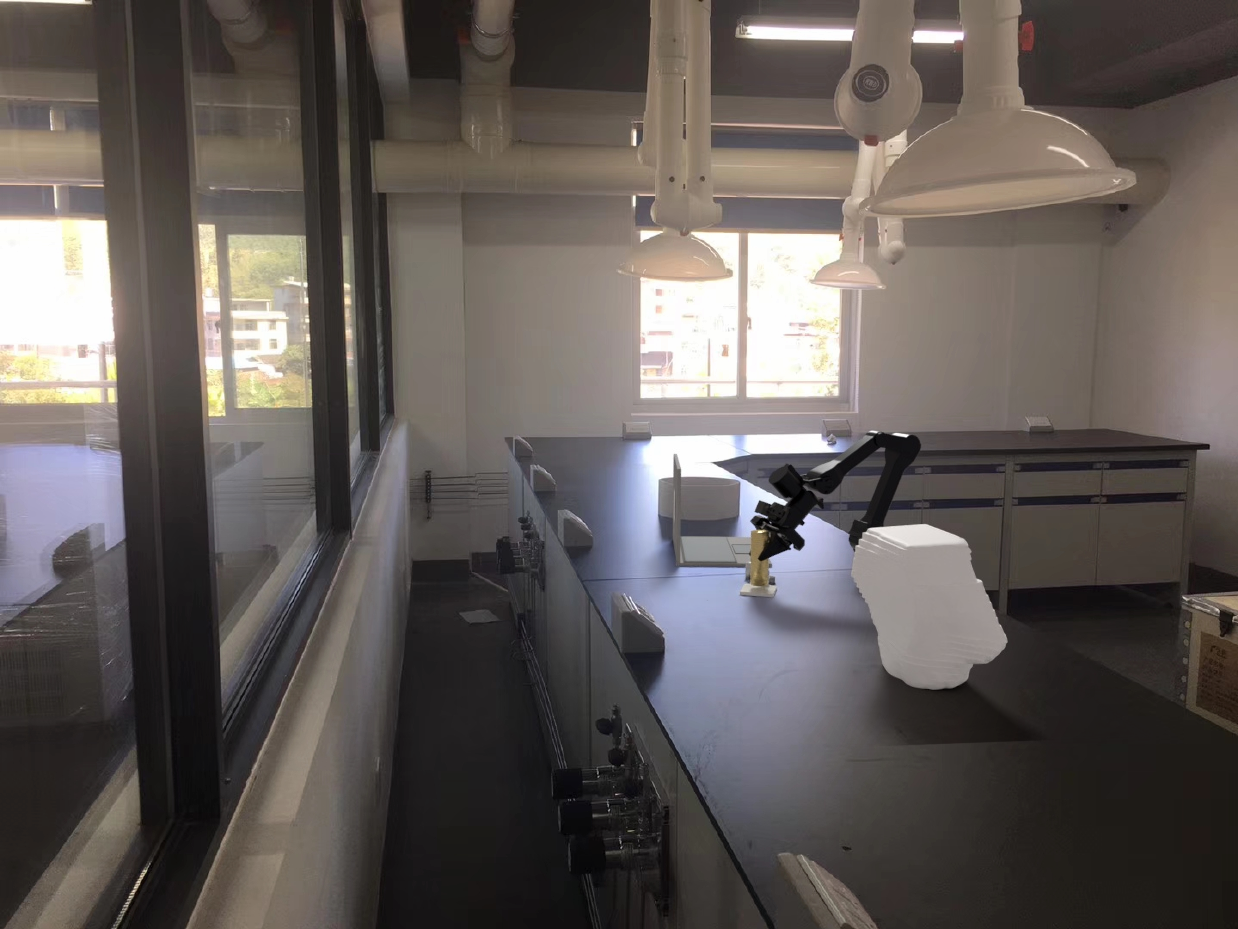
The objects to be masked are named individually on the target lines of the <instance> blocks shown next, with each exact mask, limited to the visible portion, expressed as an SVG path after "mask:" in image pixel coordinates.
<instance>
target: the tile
mask: <svg viewBox="0 0 1238 929" xmlns="http://www.w3.org/2000/svg"><path fill="white" fill-rule="evenodd" d="M777 590H778V585H774V584H769V585H767V586H753V585H751V584H750V583H744V584H743V586H742V588H741V589H740V591H739V596H740V595H741V596H753V597H763V598H765V597H766V598H774V597H775V594H776V592H777Z"/></svg>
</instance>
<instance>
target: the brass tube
mask: <svg viewBox="0 0 1238 929" xmlns="http://www.w3.org/2000/svg"><path fill="white" fill-rule="evenodd" d="M750 537H751V563H750V579H749V584H751V585H753V586H767V585H768V577H769V576H770V569H769V568H770V567H769V559H770V558H768V559H766V560H763V561H759V560H758V557H759V555H760V554H761V552H762V551H763V549H764V548H765V547H766V545H767V544H768V542H769V531H766V530H756V529H754V530H751V531H750Z"/></svg>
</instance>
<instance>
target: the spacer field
mask: <svg viewBox="0 0 1238 929" xmlns="http://www.w3.org/2000/svg"><path fill="white" fill-rule="evenodd" d="M750 563H751V562H746V567H745V575H744V576H745V579H747V580H750ZM775 584H776V576H774V575H769V577H768V585H775Z"/></svg>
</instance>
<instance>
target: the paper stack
mask: <svg viewBox="0 0 1238 929" xmlns="http://www.w3.org/2000/svg"><path fill="white" fill-rule="evenodd" d="M971 553H972V549H971V548H970V547H969V544H968V542H967V541H966V539H965V538H963V537H960V536H958V535H956V534H954V533H951V532H948V531H945V530H943V529H940V528H938V527H934V526H932V525H929V524H927V523H923V524H920V523H919V524H918V523H917V524H908V525H907V524H905V525H894V526H893V525H891V526H884V527H876V528H869V529H868V530H867V531H866V532H864V533H862V539H859V545H857V546H855V552H854V551H853V555H854V557H853V558H852V566H851V567H852V568H851V573H850V577H851V578H853V583H856V588H858V592H859V594H861V598H863V599H864V602H865V603H866V604H867V605H868V606H867V607H868V608H869V614H871V615H870V619H871V620H872V624H873V625H874V626H875V628H876V631H877V635H878V636H877V643H878V644H877V646H878V647H879V653H880V654H879V655H880V659H881V662H882V663H881V665H882V666H883V667H884V670H886V672H887V673H888V674H889V675H891V676H892V677H893V678H896V679H899V680H902V682H904V683H905V684H906V685H907V686H910V687H913V688H915V689H924V690H925V689H927V690H928V689H929V690H932V691H934V690H935V691H938V690H943V689H953V688H956V687H957V686H961V685H962V684H964V683H965V682H967V680H968V679H969V675H970V672H971V669H972V668H973V667H974V666H973V665H983V664H989V663H990V662H992V661H993V660H994V659H995V658H997V656H999V655H1000V653H1002V651H1003V650H1005V648H1006V645H1007V643H1008V638H1007V635H1006V633H1005V632H1004V629H1003V627H1002V625H1001V624H1000V623H999V617H998V616H997V613H996V611H995V609H994V608H993V603H992V602H991V600H990V597H989V594H987V592H986V590H985V587H984V582H983V581H982V580H981V579H979V578H977V576H976V574H975V570H974V568H973V566H972V562H971V561H972V556H971Z"/></svg>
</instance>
